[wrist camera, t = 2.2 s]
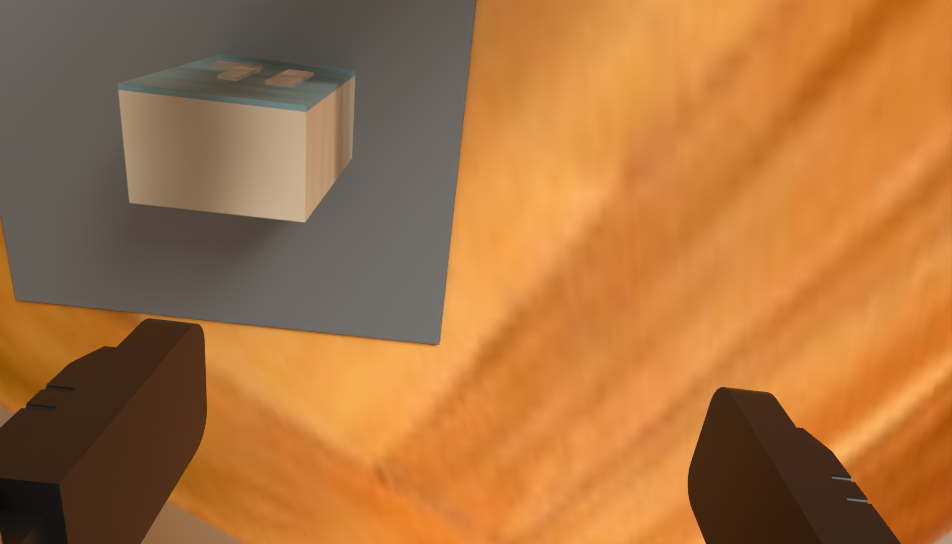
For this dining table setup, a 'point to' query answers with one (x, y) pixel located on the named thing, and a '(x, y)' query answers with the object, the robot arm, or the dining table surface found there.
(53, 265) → the mat
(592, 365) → the dining table surface
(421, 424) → the dining table surface
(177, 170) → the block
